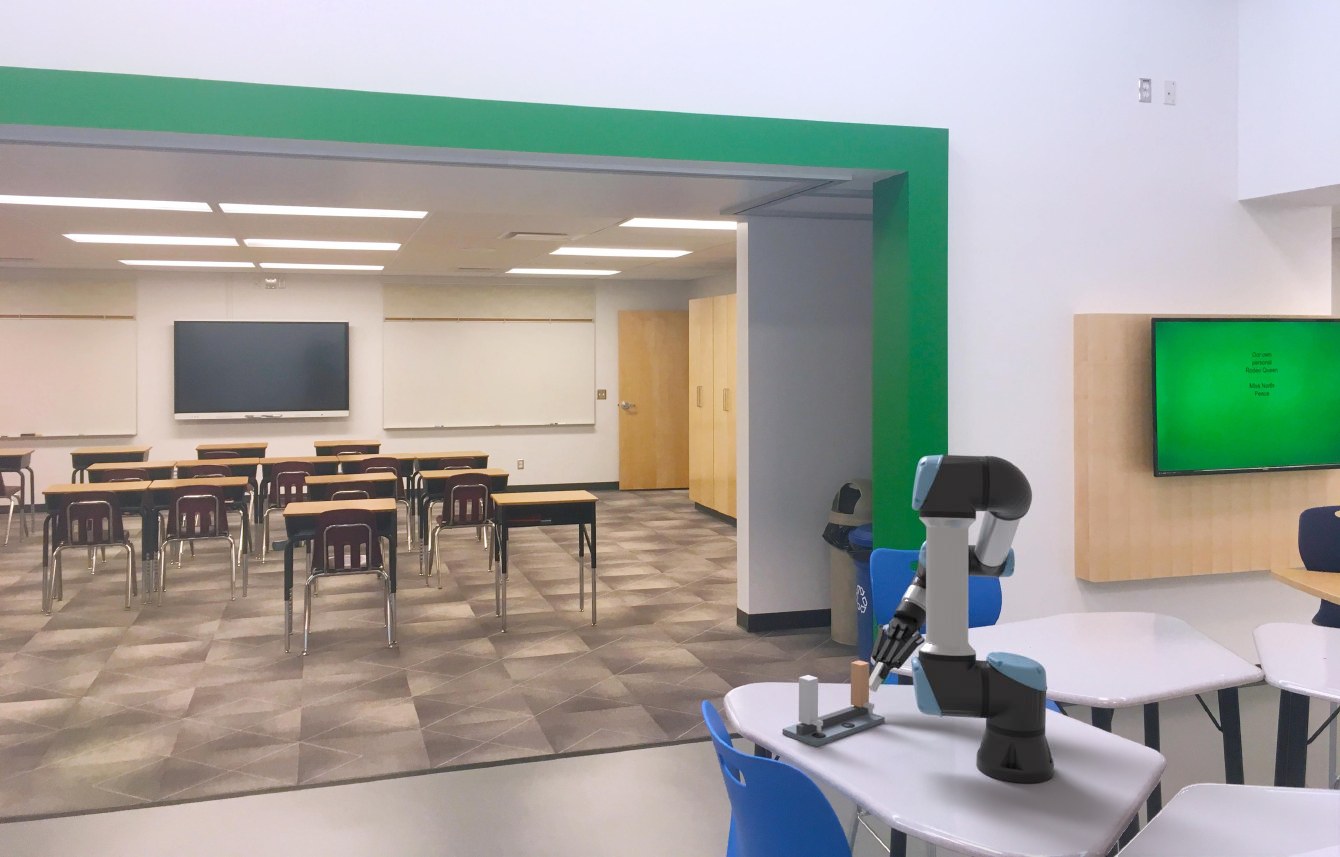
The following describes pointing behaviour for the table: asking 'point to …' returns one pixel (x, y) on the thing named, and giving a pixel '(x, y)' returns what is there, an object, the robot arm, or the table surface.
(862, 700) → the post
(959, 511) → the robot arm
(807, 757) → the table surface
